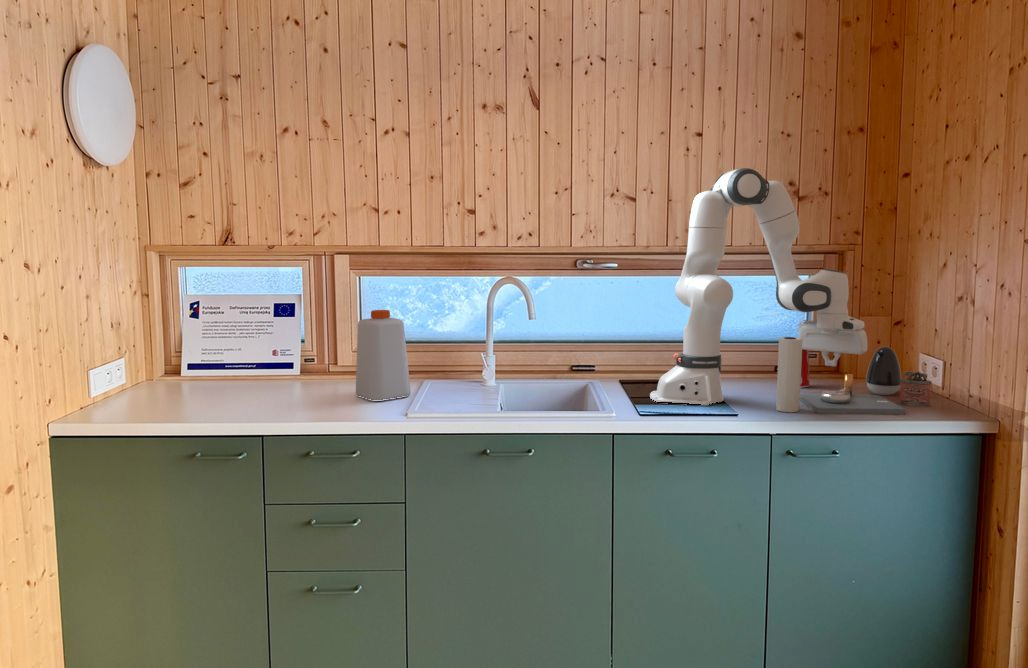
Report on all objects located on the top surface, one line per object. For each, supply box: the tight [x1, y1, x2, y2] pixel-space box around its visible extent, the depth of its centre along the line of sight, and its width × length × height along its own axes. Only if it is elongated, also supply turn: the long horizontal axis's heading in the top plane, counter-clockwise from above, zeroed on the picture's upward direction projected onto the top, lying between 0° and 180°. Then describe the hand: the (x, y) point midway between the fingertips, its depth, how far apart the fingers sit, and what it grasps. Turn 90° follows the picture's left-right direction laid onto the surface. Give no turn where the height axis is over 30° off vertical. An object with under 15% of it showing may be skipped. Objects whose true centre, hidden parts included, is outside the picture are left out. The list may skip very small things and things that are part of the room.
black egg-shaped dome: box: [865, 346, 903, 396], centre depth 228 cm, size 10×10×15 cm
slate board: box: [800, 393, 906, 415], centre depth 213 cm, size 24×18×2 cm
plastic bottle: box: [355, 309, 412, 400], centre depth 231 cm, size 15×15×28 cm
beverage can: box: [800, 349, 810, 389], centre depth 240 cm, size 6×6×15 cm
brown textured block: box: [898, 370, 933, 408], centre depth 213 cm, size 8×3×10 cm, turn 59°
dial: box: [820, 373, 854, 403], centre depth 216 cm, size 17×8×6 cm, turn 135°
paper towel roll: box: [775, 336, 803, 413], centre depth 207 cm, size 7×6×21 cm
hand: (830, 365), depth 223 cm, fingers closed
